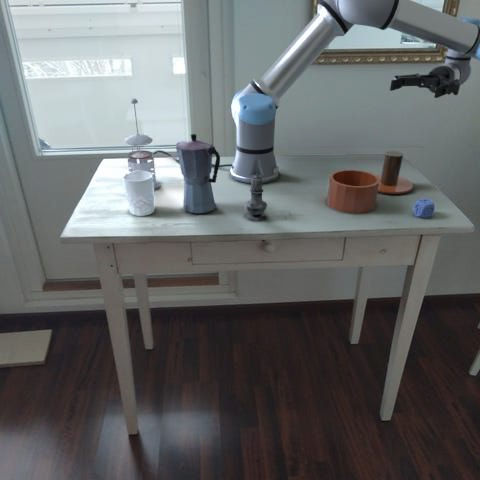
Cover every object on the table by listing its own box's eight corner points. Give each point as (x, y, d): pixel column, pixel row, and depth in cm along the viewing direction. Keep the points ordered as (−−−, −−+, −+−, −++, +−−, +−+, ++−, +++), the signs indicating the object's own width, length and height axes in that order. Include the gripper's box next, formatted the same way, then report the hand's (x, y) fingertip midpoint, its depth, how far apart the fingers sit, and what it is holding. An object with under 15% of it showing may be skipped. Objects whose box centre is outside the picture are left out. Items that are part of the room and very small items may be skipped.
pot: (317, 204, 138) (320, 178, 134) (342, 190, 146) (345, 166, 142) (360, 217, 131) (364, 191, 127) (383, 202, 139) (388, 177, 135)
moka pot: (191, 196, 142) (187, 126, 130) (233, 209, 135) (232, 136, 123) (169, 207, 136) (162, 134, 124) (211, 221, 129) (209, 145, 117)
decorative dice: (411, 213, 134) (415, 199, 131) (424, 211, 135) (427, 197, 132) (419, 219, 131) (423, 205, 128) (432, 217, 132) (436, 203, 129)
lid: (355, 187, 149) (360, 154, 142) (377, 174, 158) (383, 143, 151) (399, 199, 141) (406, 165, 135) (420, 185, 150) (428, 152, 144)
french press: (132, 193, 143) (120, 104, 128) (123, 180, 152) (110, 95, 137) (163, 188, 147) (155, 100, 132) (153, 176, 155) (144, 92, 140)
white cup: (131, 205, 137) (126, 170, 131) (158, 205, 137) (155, 170, 131) (125, 216, 130) (119, 180, 125) (154, 217, 130) (150, 181, 124)
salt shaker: (264, 222, 128) (266, 178, 121) (243, 220, 129) (243, 176, 122) (268, 213, 133) (270, 170, 126) (247, 211, 134) (248, 168, 127)
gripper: (479, 97, 147) (452, 110, 134) (402, 86, 160) (372, 96, 147) (487, 70, 142) (460, 80, 129) (407, 60, 155) (376, 68, 142)
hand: (413, 89), depth 138 cm, fingers open, 13 cm apart
